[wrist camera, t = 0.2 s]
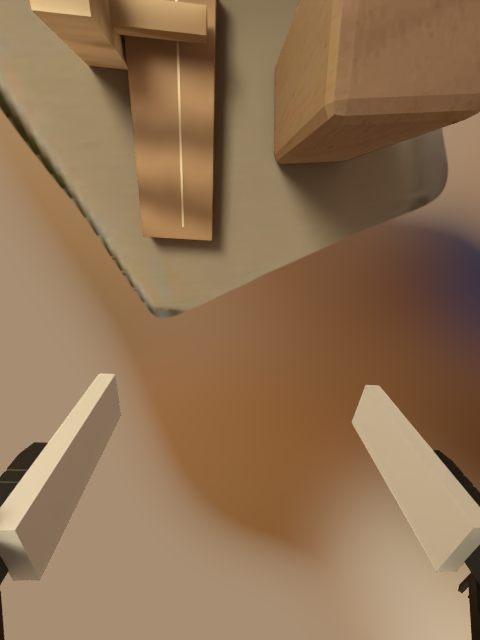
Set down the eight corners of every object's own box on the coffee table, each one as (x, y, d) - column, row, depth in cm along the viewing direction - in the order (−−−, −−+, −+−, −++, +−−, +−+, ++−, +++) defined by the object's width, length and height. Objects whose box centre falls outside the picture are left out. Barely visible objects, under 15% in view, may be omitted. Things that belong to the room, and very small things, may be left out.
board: (127, -15, 26) (117, -36, 23) (216, -4, 26) (215, -23, 24) (148, 234, 36) (143, 236, 33) (212, 238, 36) (211, 240, 34)
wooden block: (348, 161, 33) (495, 114, 15) (272, 165, 33) (329, 121, 15) (360, 59, 29) (585, -179, 11) (273, 62, 29) (353, -176, 11)
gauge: (76, 0, 26) (6, -92, 18) (209, 16, 27) (201, -65, 19) (85, 65, 28) (26, 9, 20) (209, 77, 29) (201, 29, 21)
